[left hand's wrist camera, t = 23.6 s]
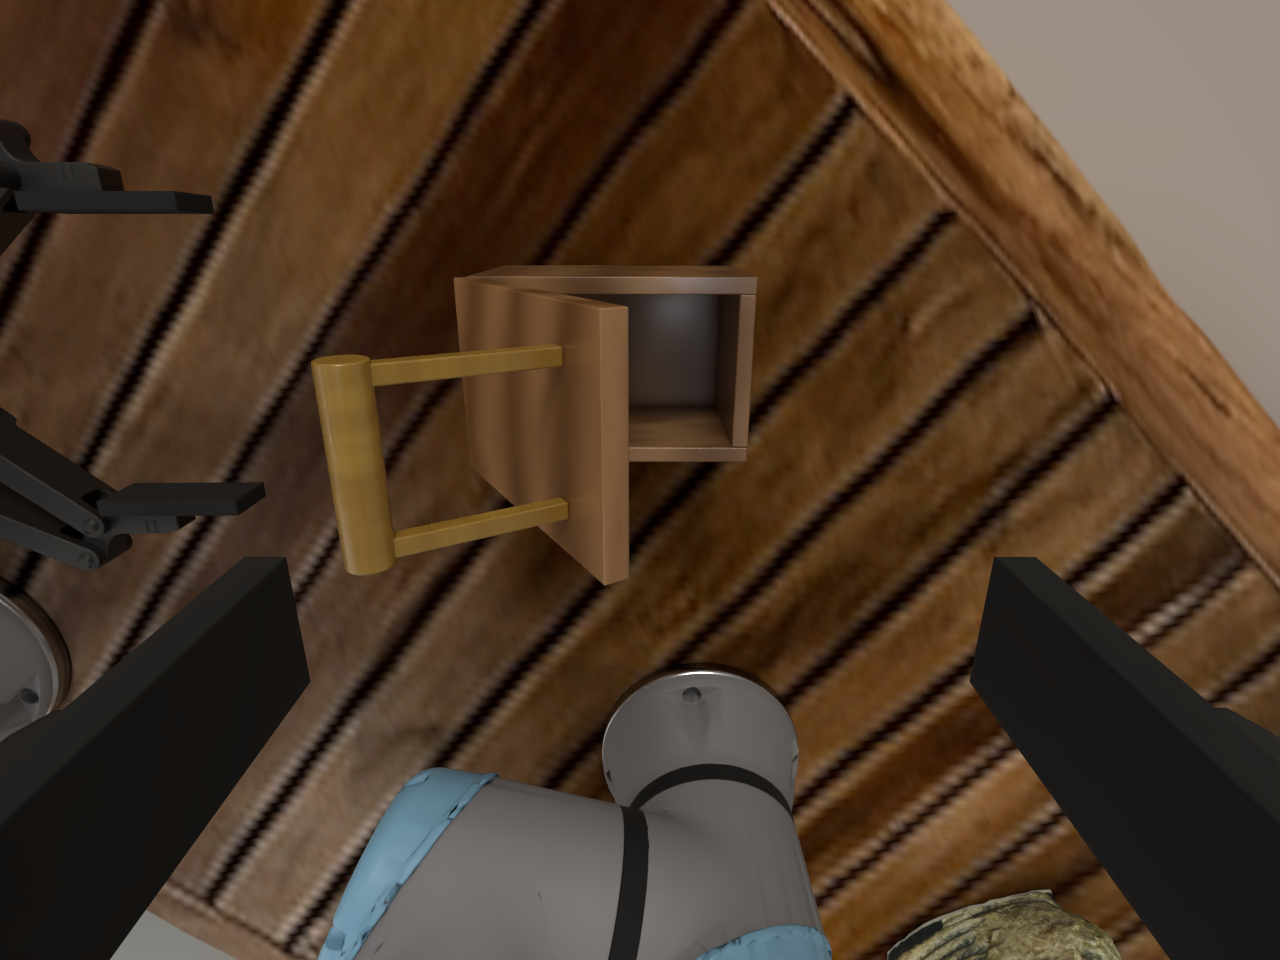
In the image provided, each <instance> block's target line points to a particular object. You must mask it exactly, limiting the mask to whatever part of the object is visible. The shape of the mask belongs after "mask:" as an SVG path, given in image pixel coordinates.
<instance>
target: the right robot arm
mask: <svg viewBox="0 0 1280 960" xmlns="http://www.w3.org/2000/svg"><path fill="white" fill-rule="evenodd" d="M30 143H31V140H30V135H29V133H28V131H27V130H26V129H25V128H24V127H23V126H22V125H20V124H18V123H16V122H11V121H6V120H2V119H0V255H1V254H2V253H3V252H4V251H5V250H6V249H7V247H8V246H9V245H10V244H11V243H12V242H13V240H14V239H15V238H16V237H17V236H18V235H19V233H20V232H21V231H22V230H23V229H24V228H25V226H26V225H27V224H28V223H29V222H30V221H31V220H32V218H33V217H34V216H35V215H36V214H37V213H38V212H49V213H65V214H214V210H213V205H212V199H211V196H207V195H199V194H192V193H184V192H176V191H124V187H123V183H122V178H121V174H120V171H118V170H116V169H113V168H111V167H108V166H104V165H97V164H91V163H85V162H40V161H39V160H38V159H37V158H36V157H35V156H34V155H33V154H32V152H31V150H30V149H29V147H30ZM16 421H17V420H16V418H15V417H14V416H13V415H11V414H10V413H8V412H7V411H5V410H4V409H2V408H0V538H1V539H4V540H6V541H9V542H12V543H14V544H17V545H19V546H22V547H25V548H27V549H30V550H32V551H35V552H38V553H40V554H43V555H45V556H48V557H50V558H53V559H56V560H58V561H61V562H63V563H66V564H69V565H71V566H74V567H76V568H79V569H82V570H84V571H94V570H96V569H97V568H99V567H101V566H103V565H104V564H106V563H108V562H109V561H111V560H113V559H114V558H116V557H117V556H119V555H121V554H122V553H124V552H125V551H127V550H129V549H130V548H131V546H132V539H131V537H130V536H129V535H128V534H135V533H171V532H174V531H176V530H179V529H180V528H182V527H184V526H185V525H187V524H188V523H190V522H192V521H193V520H195V519H196V517H195V516H215V515H239V514H241V513H242V512H244V511H245V510H247V509H248V508H249V507H251V506H252V505H254V504H255V503H257V502H258V501H260V500H261V499H263V498H264V497H265V496H266V494H265V488H264V483H263V482H248V483H134V484H132V485H130V486H128V487H126V488H124V489H122V490H120V491H116V490H115V489H113V488H112V487H110V486H108V485H107V484H105V483H104V482H102V481H101V480H99V479H98V478H96V477H95V476H93V475H92V474H90V473H88V472H87V471H85V470H84V469H82V468H81V467H79V466H78V465H76V464H75V463H73V462H71V461H70V460H68V459H67V458H65V457H64V456H62V455H61V454H59V453H58V452H56V451H55V450H53V449H51V448H50V447H48V446H47V445H45V444H44V443H42V442H41V441H39V440H38V439H36V438H34V437H33V436H31V435H30V434H28V433H27V432H25V431H24V430H22V429H21V428H19V427H18V426H17V425H16ZM69 681H70V667H69V660H68V656H67V653H66V650H65V647H64V644H63V642H62V640H61V638H60V636H59V634H58V632H57V631H56V629H55V628H54V626H53V625H52V623H51V622H50V620H49V619H48V618H47V617H46V616H45V614H44V613H43V612H42V611H41V610H40V609H39V608H38V607H37V606H36V605H35V604H34V603H33V602H32V601H31V600H30V599H29V598H27V597H26V596H25V595H24V594H22V593H21V592H20V591H18V590H17V589H15V588H14V587H12V586H11V585H10V584H8V583H6V582H4V581H3V580H1V579H0V742H1V741H3V740H4V739H5V738H6V737H8V736H9V735H10V734H12V733H14V732H16V731H18V730H19V729H21V728H23V727H25V726H27V725H28V724H30V723H32V722H34V721H36V720H38V719H39V718H41V717H43V716H45V715H47V714H48V713H50V712H52V711H54V710H57V709H58V708H59V707H60V705H61V704H62V702H63V700H64V698H65V696H66V694H67V691H68V687H69Z"/></svg>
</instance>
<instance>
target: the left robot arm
mask: <svg viewBox="0 0 1280 960" xmlns="http://www.w3.org/2000/svg"><path fill="white" fill-rule="evenodd" d="M309 683H310V677H309V672H308V667H307V661H306V656H305V651H304V646H303V641H302V636H301V631H300V626H299V621H298V616H297V611H296V606H295V601H294V596H293V591H292V586H291V581H290V576H289V571H288V566H287V561H286V557H244V558H243V559H242V560H240V561H239V562H238V563H237V564H236V565H234V566H233V567H232V568H231V569H230V570H228V571H227V572H226V573H225V574H224V575H223V576H221V577H220V578H219V579H218V580H217V581H215V582H214V583H213V584H212V585H211V586H209V587H208V588H207V589H206V590H205V591H203V592H202V593H201V594H200V595H199V596H198V597H196V598H195V599H194V600H193V601H192V602H190V603H189V604H188V605H187V606H186V607H184V608H183V609H182V610H181V611H180V612H178V613H177V614H176V615H175V616H174V617H173V618H171V619H170V620H169V621H168V622H167V623H165V624H164V625H163V626H162V627H161V628H159V629H158V630H157V631H156V632H155V633H153V634H152V635H151V636H150V637H149V638H147V639H146V640H145V641H144V642H143V643H142V644H140V645H139V646H138V647H137V648H136V649H134V650H133V651H132V652H131V653H130V654H128V655H127V656H126V657H125V658H124V659H122V660H121V661H120V662H119V663H118V664H117V665H115V666H114V667H113V668H112V669H111V670H109V671H108V672H107V673H106V674H105V675H103V676H102V677H101V678H100V679H99V680H97V681H96V682H95V683H94V684H93V685H91V686H90V687H89V688H88V689H87V690H86V691H84V692H83V693H82V694H81V695H80V696H78V697H77V698H76V699H75V700H74V701H72V702H71V703H70V704H69V705H68V706H66V707H65V708H64V709H63V710H54V711H52V712H50V713H48V714H47V715H45V716H43V717H41V718H39V719H38V720H36V721H34V722H32V723H30V724H28V725H27V726H25V727H23V728H21V729H19V730H18V731H16V732H14V733H12V734H10V735H9V736H8V737H6V738H5V739H4V740H3V741H1V742H0V960H110V959H111V957H112V956H113V954H114V953H115V952H116V950H117V949H118V948H119V946H120V945H121V943H122V942H123V941H124V939H125V938H126V936H127V935H128V934H129V932H130V931H131V929H132V928H133V927H134V925H135V924H136V923H137V921H138V920H139V918H140V917H141V916H142V914H143V913H144V911H145V910H146V909H147V907H148V906H149V905H150V903H151V902H152V900H153V899H154V898H155V896H156V895H157V893H158V892H159V891H160V889H161V888H162V887H163V885H164V884H165V882H166V881H167V880H168V878H169V877H170V875H171V874H172V873H173V871H174V870H175V869H176V867H177V866H178V864H179V863H180V862H181V860H182V859H183V857H184V856H185V855H186V853H187V852H188V851H189V849H190V848H191V846H192V845H193V844H194V842H195V841H196V839H197V838H198V837H199V835H200V834H201V833H202V831H203V830H204V828H205V827H206V826H207V824H208V823H209V821H210V820H211V819H212V817H213V816H214V815H215V813H216V812H217V810H218V809H219V808H220V806H221V805H222V803H223V802H224V801H225V799H226V798H227V797H228V795H229V794H230V792H231V791H232V790H233V788H234V787H235V785H236V784H237V783H238V781H239V780H240V779H241V777H242V776H243V774H244V773H245V772H246V770H247V769H248V767H249V766H250V765H251V763H252V762H253V760H254V759H255V758H256V756H257V755H258V754H259V752H260V751H261V749H262V748H263V747H264V745H265V744H266V742H267V741H268V740H269V738H270V737H271V736H272V734H273V733H274V731H275V730H276V729H277V727H278V726H279V724H280V723H281V722H282V720H283V719H284V718H285V716H286V715H287V713H288V712H289V711H290V709H291V708H292V706H293V705H294V704H295V702H296V701H297V700H298V698H299V697H300V695H301V694H302V693H303V691H304V690H305V688H306V687H307V686H308V684H309ZM970 683H971V684H972V686H973V687H974V688H975V690H976V691H977V693H978V694H979V695H980V697H981V698H982V700H983V701H984V702H985V704H986V705H987V706H988V708H989V709H990V711H991V712H992V713H993V715H994V716H995V718H996V719H997V720H998V722H999V723H1000V724H1001V726H1002V727H1003V729H1004V730H1005V731H1006V733H1007V734H1008V736H1009V737H1010V738H1011V740H1012V741H1013V742H1014V744H1015V745H1016V747H1017V748H1018V749H1019V751H1020V752H1021V754H1022V755H1023V756H1024V758H1025V759H1026V760H1027V762H1028V763H1029V765H1030V766H1031V767H1032V769H1033V770H1034V772H1035V773H1036V774H1037V776H1038V777H1039V779H1040V780H1041V781H1042V783H1043V784H1044V785H1045V787H1046V788H1047V790H1048V791H1049V792H1050V794H1051V795H1052V797H1053V798H1054V799H1055V801H1056V802H1057V803H1058V805H1059V806H1060V808H1061V809H1062V810H1063V812H1064V813H1065V815H1066V816H1067V817H1068V819H1069V820H1070V821H1071V823H1072V824H1073V826H1074V827H1075V828H1076V830H1077V831H1078V833H1079V834H1080V835H1081V837H1082V838H1083V839H1084V841H1085V842H1086V844H1087V845H1088V846H1089V848H1090V849H1091V851H1092V852H1093V853H1094V855H1095V856H1096V857H1097V859H1098V860H1099V862H1100V863H1101V864H1102V866H1103V867H1104V869H1105V870H1106V871H1107V873H1108V874H1109V875H1110V877H1111V878H1112V880H1113V881H1114V882H1115V884H1116V885H1117V887H1118V888H1119V889H1120V891H1121V892H1122V893H1123V895H1124V896H1125V898H1126V899H1127V900H1128V902H1129V903H1130V905H1131V906H1132V907H1133V909H1134V910H1135V911H1136V913H1137V914H1138V916H1139V917H1140V918H1141V920H1142V921H1143V923H1144V924H1145V925H1146V927H1147V928H1148V929H1149V931H1150V932H1151V934H1152V935H1153V936H1154V938H1155V939H1156V941H1157V942H1158V943H1159V945H1160V946H1161V948H1162V949H1163V950H1164V952H1165V953H1166V954H1167V956H1168V957H1169V959H1170V960H1280V739H1279V738H1278V737H1277V736H1275V735H1274V734H1273V733H1271V732H1270V731H1268V730H1266V729H1264V728H1262V727H1260V726H1259V725H1257V724H1255V723H1253V722H1251V721H1250V720H1248V719H1246V718H1244V717H1242V716H1240V715H1239V714H1237V713H1235V712H1233V711H1231V710H1229V709H1228V708H1215V707H1214V706H1212V705H1211V704H1210V703H1209V702H1208V701H1206V700H1205V699H1204V698H1203V697H1202V696H1200V695H1199V694H1198V693H1197V692H1196V691H1194V690H1193V689H1192V688H1191V687H1190V686H1189V685H1187V684H1186V683H1185V682H1184V681H1183V680H1181V679H1180V678H1179V677H1178V676H1177V675H1175V674H1174V673H1173V672H1172V671H1171V670H1169V669H1168V668H1167V667H1166V666H1165V665H1163V664H1162V663H1161V662H1160V661H1159V660H1158V659H1156V658H1155V657H1154V656H1153V655H1152V654H1150V653H1149V652H1148V651H1147V650H1146V649H1144V648H1143V647H1142V646H1141V645H1140V644H1138V643H1137V642H1136V641H1135V640H1134V639H1133V638H1131V637H1130V636H1129V635H1128V634H1127V633H1125V632H1124V631H1123V630H1122V629H1121V628H1119V627H1118V626H1117V625H1116V624H1115V623H1113V622H1112V621H1111V620H1110V619H1109V618H1107V617H1106V616H1105V615H1104V614H1103V613H1102V612H1100V611H1099V610H1098V609H1097V608H1096V607H1094V606H1093V605H1092V604H1091V603H1090V602H1088V601H1087V600H1086V599H1085V598H1084V597H1082V596H1081V595H1080V594H1079V593H1078V592H1077V591H1075V590H1074V589H1073V588H1072V587H1071V586H1069V585H1068V584H1067V583H1066V582H1065V581H1063V580H1062V579H1061V578H1060V577H1059V576H1057V575H1056V574H1055V573H1054V572H1053V571H1052V570H1050V569H1049V568H1048V567H1047V566H1046V565H1044V564H1043V563H1042V562H1041V561H1040V560H1038V559H1037V558H1036V557H994V561H993V566H992V571H991V576H990V581H989V586H988V591H987V596H986V601H985V606H984V611H983V616H982V621H981V626H980V631H979V636H978V641H977V646H976V651H975V656H974V661H973V667H972V672H971V677H970ZM798 753H799V749H798V743H797V736H796V732H795V728H794V725H793V722H792V719H791V716H790V714H789V711H788V709H787V707H786V705H785V704H784V702H783V701H782V699H781V698H780V697H779V696H778V694H777V693H776V692H775V691H774V690H773V689H772V688H771V687H770V686H768V685H767V684H766V683H765V682H763V681H762V680H760V679H759V678H757V677H755V676H754V675H752V674H750V673H747V672H745V671H743V670H740V669H737V668H734V667H730V666H726V665H721V664H714V663H689V664H682V665H677V666H672V667H668V668H665V669H662V670H660V671H657V672H655V673H653V674H650V675H649V676H647V677H645V678H643V679H642V680H640V681H639V682H637V683H636V684H634V685H633V686H632V687H631V688H629V689H628V690H627V691H626V692H625V693H624V694H623V695H622V696H621V697H620V699H619V700H618V701H617V702H616V704H615V705H614V707H613V708H612V710H611V712H610V714H609V716H608V719H607V722H606V725H605V729H604V735H603V746H602V759H603V768H604V774H605V778H606V781H607V784H608V787H609V789H610V792H611V794H612V796H613V797H614V799H615V803H610V802H606V801H601V800H597V799H592V798H588V797H583V796H579V795H574V794H570V793H565V792H561V791H556V790H552V789H547V788H543V787H538V786H534V785H530V784H526V783H521V782H517V781H513V780H509V779H505V778H501V777H499V776H500V775H498V774H496V773H492V772H490V773H487V774H480V773H473V772H467V771H460V770H454V769H449V768H443V767H437V768H431V769H427V770H425V771H422V772H420V773H418V774H417V775H416V776H414V777H413V778H412V779H411V780H409V781H408V782H407V783H406V785H405V786H404V787H403V788H402V789H401V791H400V792H399V793H398V795H397V796H396V797H395V799H394V800H393V802H392V803H391V805H390V806H389V808H388V809H387V811H386V813H385V814H384V816H383V818H382V819H381V821H380V823H379V825H378V826H377V828H376V830H375V832H374V833H373V835H372V837H371V839H370V841H369V843H368V845H367V847H366V848H365V850H364V852H363V854H362V856H361V858H360V860H359V862H358V864H357V866H356V868H355V871H354V873H353V875H352V877H351V879H350V881H349V883H348V885H347V887H346V890H345V892H344V894H343V896H342V898H341V901H340V903H339V906H338V908H337V910H336V913H335V915H334V918H333V926H332V927H331V929H330V931H329V933H328V936H327V938H326V941H325V943H324V945H323V947H322V949H321V951H320V954H319V957H318V960H832V953H831V947H830V944H829V942H828V940H827V939H826V937H825V934H824V931H823V928H822V924H821V920H820V917H819V913H818V909H817V905H816V902H815V898H814V894H813V891H812V887H811V883H810V879H809V876H808V872H807V868H806V864H805V861H804V857H803V853H802V850H801V846H800V842H799V838H798V835H797V831H796V827H795V824H794V819H793V815H792V805H793V798H794V790H795V778H796V774H797V768H798V756H799V755H798Z"/></svg>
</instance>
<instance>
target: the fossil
mask: <svg viewBox="0 0 1280 960" xmlns="http://www.w3.org/2000/svg"><path fill="white" fill-rule="evenodd" d="M887 960H1121V957H1120V955H1119V952H1118V950H1117V948H1116V947H1115V945H1114V943H1113V941H1112V939H1111V937H1110V936H1109V935H1108V934H1107V933H1106V932H1104V931H1103V930H1102V929H1100V928H1099V927H1098V926H1096V925H1095V924H1093V923H1091V922H1089V921H1087V920H1085V919H1084V918H1082V917H1081V916H1080V915H1078V914H1074V913H1071V912H1068V911H1066V910H1064V909H1062V908H1061V907H1060V905H1059V904H1058V903H1057V902H1056V901H1055V900H1054V897H1053V895H1052V892H1051V890H1034V891H1029V892H1026V893H1022V894H1015V895H1011V896H1007V897H1003V898H999V899H994V900H989V901H987V902H986V903H984V904H978V905H972V906H968V907H965V908H962V909H959V910H956V911H954V912H951V913H948V914H945V915H942V916H940V917H938V918H935V919H933V920H930V921H929V922H927V923H925V924H923V925H921V926H920V927H919V928H917V929H916V930H914V931H913V932H911V933H910V934H908V935H907V937H906V938H905V939H903V940H901V941H899V942H898V943H897V944H895V945H894V946H893V947H892V948H891V949H890V950H889V951H888V952H887Z"/></svg>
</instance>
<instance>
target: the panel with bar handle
mask: <svg viewBox="0 0 1280 960" xmlns="http://www.w3.org/2000/svg"><path fill="white" fill-rule="evenodd" d="M454 288H455V299H456V311H457V322H458V334H459V345H460V352H458V353H446V354H435V355H424V356H412V357H401V358H390V359H379V360H371V359H370V358H369V357H367V356H362V355H336V356H327V357H322V358H318V359H315V360H313V361H312V362H311V367H312V373H313V379H314V385H315V392H316V398H317V404H318V410H319V416H320V422H321V428H322V434H323V441H324V447H325V453H326V459H327V465H328V471H329V477H330V483H331V489H332V496H333V502H334V508H335V514H336V520H337V526H338V532H339V538H340V545H341V551H342V557H343V563H344V568H345V570H346V571H347V572H348V573H351V574H354V575H371V574H376V573H380V572H383V571H386V570H388V569H390V568H391V567H393V566H394V565H395V564H396V561H397V558H399V557H403V556H407V555H412V554H416V553H421V552H425V551H429V550H434V549H438V548H443V547H447V546H452V545H456V544H460V543H465V542H469V541H474V540H478V539H483V538H487V537H491V536H496V535H500V534H505V533H509V532H514V531H518V530H522V529H527V528H531V527H536V526H538V527H539V528H540V529H541V530H542V531H544V532H545V533H546V534H547V535H548V536H549V537H550V538H552V539H553V540H554V541H555V542H556V543H557V544H558V545H559V546H561V547H562V548H563V549H564V550H565V551H566V552H567V553H568V554H570V555H571V556H572V557H573V558H574V559H575V560H576V561H578V562H579V563H580V564H581V565H582V566H583V567H584V568H585V569H587V570H588V571H589V572H590V573H591V574H592V575H593V576H594V577H596V578H597V579H598V580H599V581H600V582H601V583H602V584H604V585H609V584H612V583H616V582H619V581H623V580H626V579H629V348H628V307H627V306H622V305H617V304H612V303H607V302H601V301H596V300H591V299H586V298H580V297H575V296H570V295H565V294H560V293H554V292H549V291H544V290H539V289H534V288H528V287H523V286H518V285H513V284H507V283H502V282H497V281H492V280H487V279H481V278H476V277H458V278H454ZM461 377H462V379H463V391H464V402H465V414H466V425H467V436H468V448H469V459H470V467H471V468H472V469H473V470H475V471H476V472H477V473H478V474H479V475H480V476H481V477H483V478H484V479H485V480H486V481H487V482H488V483H489V484H490V485H492V486H493V487H494V488H495V489H496V490H497V491H498V492H499V493H501V494H502V495H503V496H504V497H505V498H506V499H507V500H509V501H510V502H511V503H512V504H513V505H514V506H515V507H511V508H506V509H501V510H496V511H491V512H486V513H482V514H477V515H472V516H467V517H462V518H458V519H453V520H448V521H443V522H438V523H433V524H429V525H424V526H419V527H414V528H409V529H405V530H400V531H395V532H393V524H392V517H391V509H390V502H389V494H388V487H387V479H386V472H385V464H384V457H383V449H382V442H381V434H380V427H379V419H378V412H377V404H376V397H375V389H374V387H377V386H386V385H395V384H405V383H414V382H423V381H433V380H442V379H451V378H461Z"/></svg>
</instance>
